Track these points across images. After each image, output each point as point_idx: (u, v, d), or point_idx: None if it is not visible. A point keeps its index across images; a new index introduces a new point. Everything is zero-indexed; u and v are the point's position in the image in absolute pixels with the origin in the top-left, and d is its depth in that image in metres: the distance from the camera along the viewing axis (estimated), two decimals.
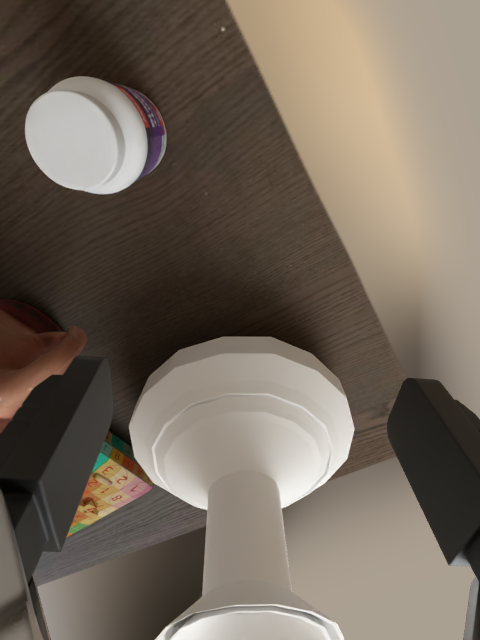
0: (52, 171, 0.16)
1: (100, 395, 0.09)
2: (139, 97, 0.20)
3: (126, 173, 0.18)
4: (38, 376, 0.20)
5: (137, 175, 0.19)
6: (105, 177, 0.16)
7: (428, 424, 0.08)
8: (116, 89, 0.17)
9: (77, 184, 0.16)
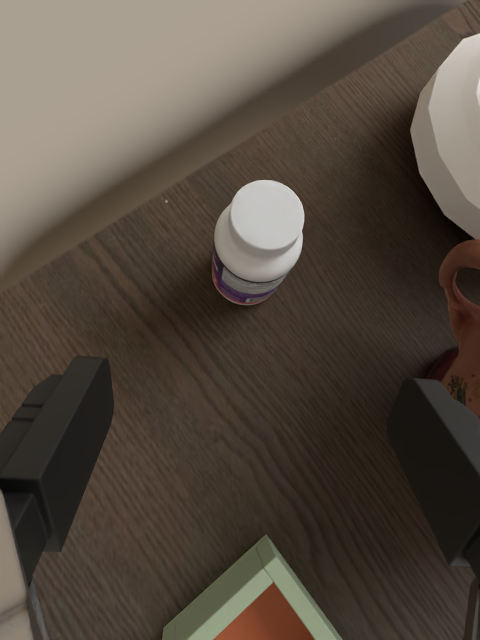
0: (292, 231, 0.19)
1: (100, 396, 0.09)
2: None
3: None
4: None
5: None
6: (290, 190, 0.19)
7: (428, 424, 0.08)
8: None
9: (299, 213, 0.19)
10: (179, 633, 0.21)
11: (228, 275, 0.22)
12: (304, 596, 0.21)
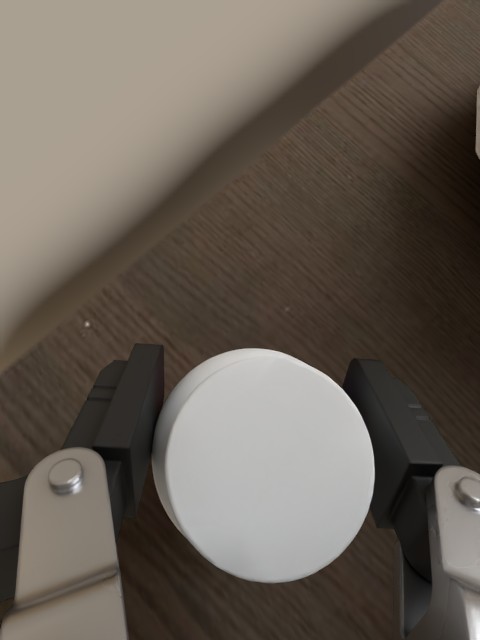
0: (348, 506, 0.07)
1: (158, 379, 0.09)
2: None
3: None
4: None
5: (294, 358, 0.10)
6: (323, 378, 0.07)
7: (366, 399, 0.09)
8: (161, 410, 0.09)
9: (358, 443, 0.07)
10: None
11: None
12: None
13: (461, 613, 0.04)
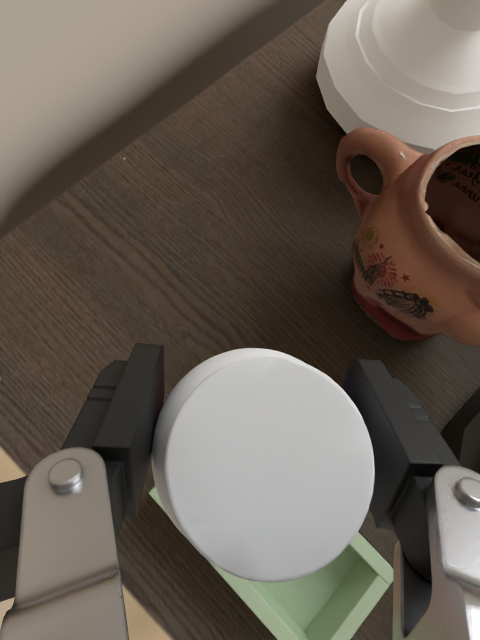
0: (348, 506, 0.07)
1: (158, 379, 0.09)
2: None
3: None
4: (370, 131, 0.24)
5: None
6: (323, 377, 0.07)
7: (365, 399, 0.09)
8: (161, 409, 0.09)
9: (358, 443, 0.07)
10: None
11: None
12: None
13: (462, 613, 0.04)
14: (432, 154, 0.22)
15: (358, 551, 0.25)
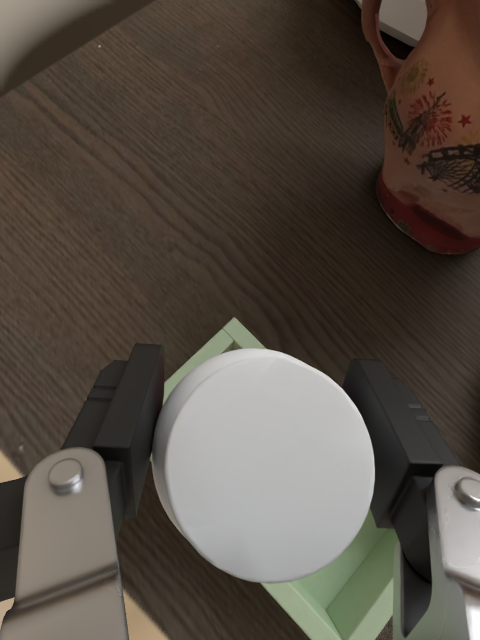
0: (348, 506, 0.07)
1: (158, 380, 0.09)
2: None
3: None
4: None
5: (294, 358, 0.10)
6: (323, 378, 0.07)
7: (366, 399, 0.09)
8: (161, 410, 0.09)
9: (358, 443, 0.07)
10: None
11: None
12: None
13: (462, 613, 0.04)
14: None
15: None
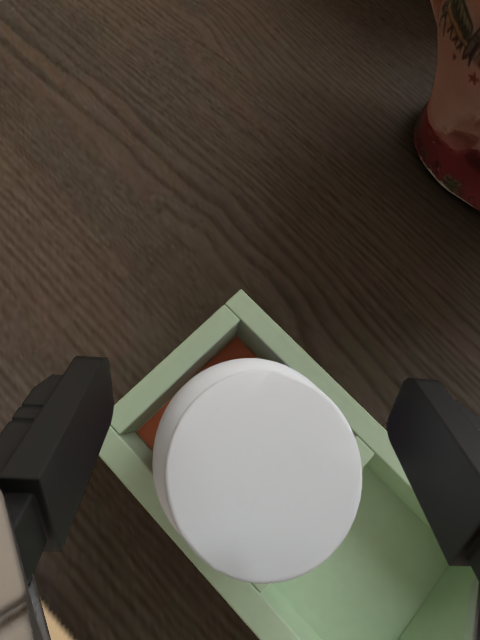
0: (336, 512, 0.07)
1: (100, 396, 0.09)
2: None
3: None
4: None
5: (289, 367, 0.10)
6: (314, 390, 0.07)
7: (428, 423, 0.08)
8: (161, 418, 0.10)
9: (347, 452, 0.07)
10: None
11: None
12: (286, 334, 0.15)
13: None
14: None
15: None
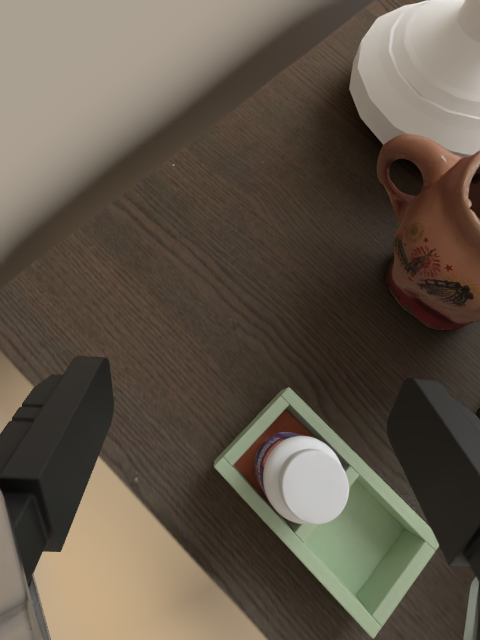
0: (340, 501, 0.21)
1: (100, 395, 0.09)
2: (261, 452, 0.27)
3: (320, 447, 0.23)
4: (412, 137, 0.26)
5: (319, 440, 0.24)
6: (332, 458, 0.21)
7: (428, 424, 0.08)
8: (266, 463, 0.23)
9: (343, 480, 0.21)
10: (226, 451, 0.28)
11: None
12: (313, 412, 0.29)
13: None
14: (472, 157, 0.24)
15: (406, 519, 0.27)
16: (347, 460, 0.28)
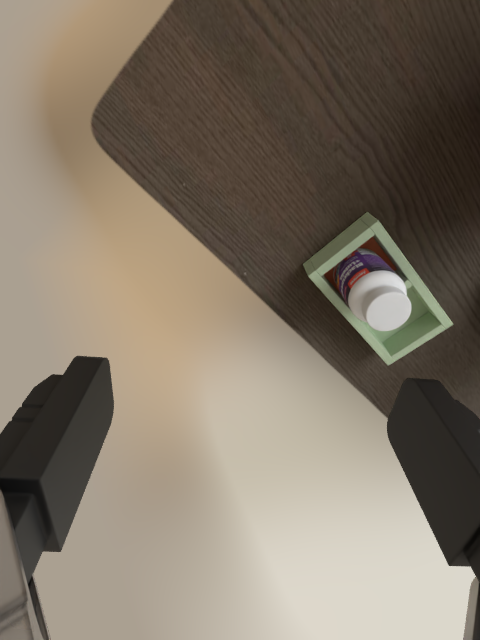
0: (402, 320, 0.32)
1: (99, 395, 0.09)
2: (346, 270, 0.36)
3: (396, 282, 0.32)
4: None
5: (396, 275, 0.33)
6: (405, 297, 0.31)
7: (428, 424, 0.08)
8: (354, 288, 0.33)
9: (408, 310, 0.31)
10: (316, 263, 0.38)
11: None
12: (392, 241, 0.35)
13: None
14: None
15: (434, 312, 0.40)
16: (407, 276, 0.37)
